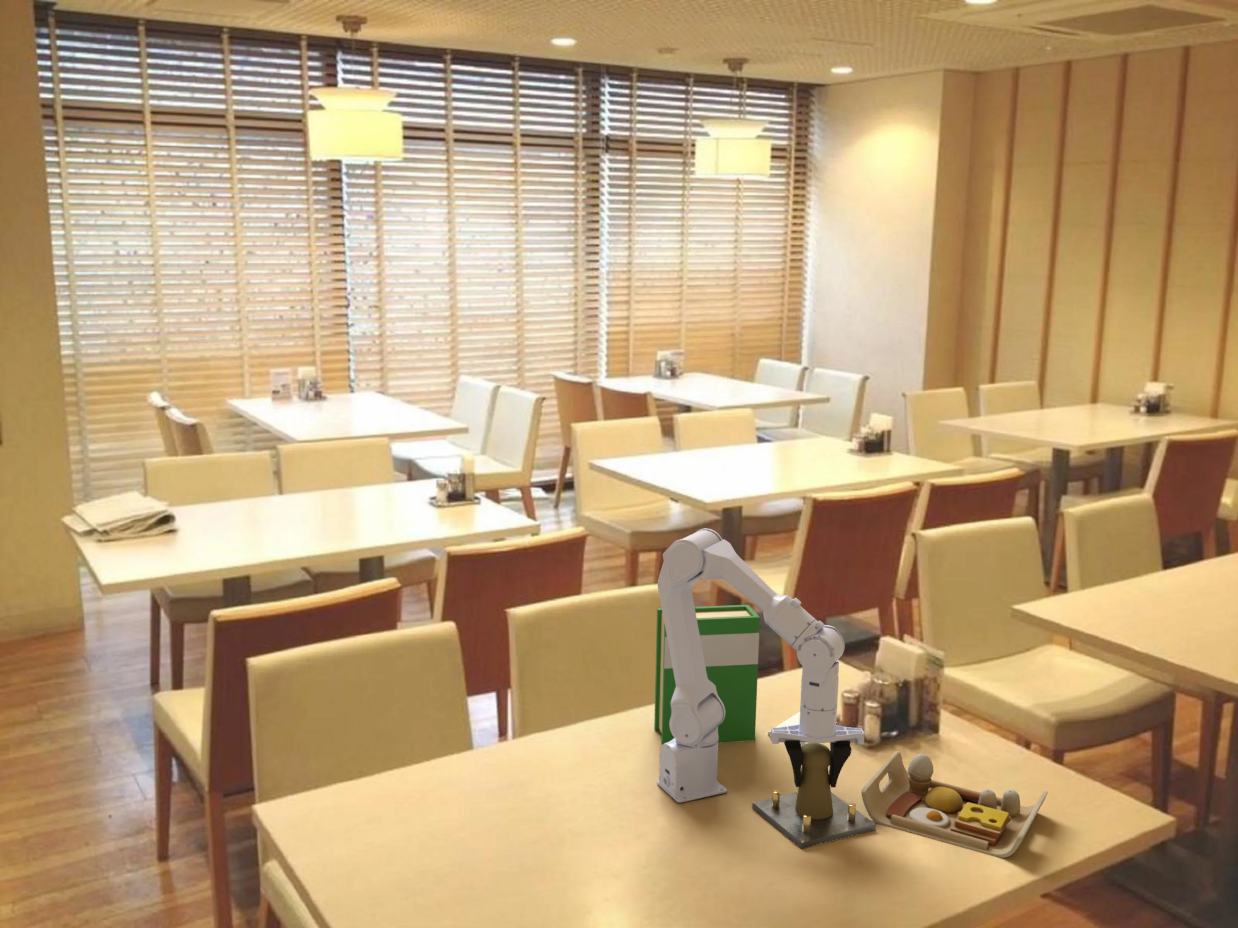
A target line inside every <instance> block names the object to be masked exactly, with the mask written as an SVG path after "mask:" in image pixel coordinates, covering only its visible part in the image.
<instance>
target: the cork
mask: <svg viewBox="0 0 1238 928" xmlns="http://www.w3.org/2000/svg"><path fill="white" fill-rule="evenodd" d="M801 749H802V752H803V756H802V764H801V787H797V789H798V790H797V792H798V794H797V801H796V807H795V810H796V812H797V813H798V814H799V815H800V816H802V817H803V815H805V814H808V815H810V816H811V819H825V818H828V817H830V816H831V815H832V814H833V805H832V797H831V792H832V790H831V789H832V788H831V785H830V780H829V768H830V763H831V760H832V755H831V752H830V748H829V747H828V746H827V745H825V744H824V743H808V744H805V745H803V746H801Z"/></svg>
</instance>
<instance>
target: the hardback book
mask: <svg viewBox="0 0 1238 928" xmlns="http://www.w3.org/2000/svg"><path fill="white" fill-rule="evenodd" d="M694 607H695V612H696V618H697V623H698V629H699V634H700V640H701V645H702V651H703V656H704V662H705V667H706V673H707V678H708V680H709V681H711V682H712V683H713V684H714V685H715V686H716V690H717V694H718V696H719V698H720V699H721V701H722V702H723V704H724V707H725V718H724V720H723V722H722V723H721V724H720V725H719V726H718V736H719V738H718V742H721V743H732V742H733V743H735V742H749V740H754V741H755V740H756V728H757V727H756V724H757V722H756V721H757V719H756V718H757V700H758V699H757V697H758V675H759V674H758V672H759V652H760V651H759V650H760V649H759V647H760V622H761V620H760V619H761V616H759V615H758V614H757V612H756V611H755V610H754V608H752V607H751V606H750V605H749V604H735V605H734V604H733V605H732V604H731V605H730V604H729V605H710V606H706V605H705V606H694ZM655 631H656V635H655V636H656V637H655V638H656V641H655V642H656V643H655V674H654V675H655V677H654V678H655V680H654V681H655V683H654V684H655V686H654V723H653V724H654V726H653V727H654V728H653V729H654V732H660V733H661V739H660V741H661V746H662V745H663V744H664V743H667V742H669V741H671V740H672V739H674V736H673V735H672V733H671V731H670V726H669V722H670V718H671V713H672V710H671V700H672V697H673V694H674V691H675V688H676V683H675V678H674V672H673V667H672V661H671V656H670V650H669V645H668V640H667V634H666V629H665V623H664V618H663V612H662V607H661V608H660V607H657V608H656V630H655ZM747 740H748V741H747Z"/></svg>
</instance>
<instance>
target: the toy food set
mask: <svg viewBox="0 0 1238 928" xmlns="http://www.w3.org/2000/svg"><path fill="white" fill-rule="evenodd" d="M933 774H934V764H933V762H932V759H931V758H930V757H929V755H927V754H926V753H918V754H915V755H914V757H913V758H912V759H911V760H910V762H909V765H908V767H907V769H906V767H905V765H904V763H903V758H902V753H901V752H900V751H898V750H896V751H894V752H893V753H892V754H891V756H890V757H889V758H887V760H886V761H885V763H883V764H882V766H880V768H879V769H878V770H877V771H876V772H875V773H874V774H873V776H872V777H871V778H870V779H869V781H868V782H867V783H866V784H865V785H864V786H863V787H862V789H861V797H862V798H861V799H862V803H863V805H864V807H865V810H866V812H867V814H868V816H869V818H870V820H871V821H872V822H873V821H874V823H875V824H879V825H883V826H887V827H890V828H893V829H897V830H901V831H905V832H908V833H911V832H912V833H911V834H914V833H915V834H916V835H918V834H919V836H922V837H926V838H930V839H933V840H937V841H941V842H944V843H947V844H951V845H954V846H956V847H957V846H958V847H961V848H965V849H969V850H972V851H975V852H980V853H983V854H986V855H990V856H994V857H997V858H1001V859H1002V858H1003V859H1004V858H1008V857H1011V856H1012V855H1014V853H1016V851H1017V850H1018V849H1019V847H1020V845H1021V844H1022V842H1023V840H1024V838H1025V836H1026V835H1027V833H1028V831H1029V829H1030V828H1031V825H1032V823H1033V821H1034V820H1035V818H1036V816H1037V814H1038V813H1039V811H1040V810H1041V807H1042V806H1043V804H1044V802H1045V800H1046V798H1047V795H1048V792H1049V791H1046V790H1043V791H1042V793H1041V794H1040V796H1039V798H1038V800H1037V801H1036V803H1034V805H1030V806H1023V805H1021V798H1020V795H1019V793H1018V792H1017V791H1016V790H1014V789H1007V790H1005V791H1004V792H1003V794H1002V797H999V796H997V795H996V793H995V792H994V790H991V789H988V788H987V789H986V788H985V789H983V790H982V791H981V792H979V791H978V790H972V789H968V788H964V787H961V786H957V785H954V784H950V783H946V782H942V781H938V780H934V779H932V776H933ZM886 775H887V776H888V781H887V782H886V783H885V784H884V786H883V787H882V789H880V783H881V781H882V780H883V779H884V777H885V776H886Z"/></svg>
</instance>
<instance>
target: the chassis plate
mask: <svg viewBox="0 0 1238 928" xmlns="http://www.w3.org/2000/svg"><path fill="white" fill-rule="evenodd" d="M771 793H772V796H771V798H766V799H762V800H757V801H754V802H752V809H753V810H754V811H755V812H756V811H757V812H756V813H757V814H758V815H760V816H761V817H762V818H763V819H765V820H766V821H767V822H769V823H770V824H771V825H772V826H773V827H774V828H776V829H777V830H778V831H780V833H782V834H783V835H786V836H785V837H786V838H788V839H789V840H790V841H791V840H792V841H791V842H793V843H794V845H796V846H798V848H800V849H801V850H802V849H806V847H807V848H811V847H814V846H813V845H815V846H818V845H817V844H819V845H821V844H820V843H823V844H825V842H827V843H829V841H831V842H833V841H832V840H835V841H837V840H836V839H838V840H841V839H840V838H842V839H845V838H844V837H846V838H849V837H848V836H850V837H852V836H851V835H854V836H857V835H856V834H858V835H862V834H865V832H866V833H870V832H873V831H876V827H877V823H876V822H873V820H872V819H869V818H868V817H867V816H865V815H864V814H862V813H861V812H859V811H858V810H857V805H856V804H855V803H847V802H846V801H844V800H843V799H841V797H839V796H838V795H836V794H835V793H833V792H832V791H831V797H832V805H833V814H832V815H831V816H830V817H828V818H825V819H811V816H810V815H808V814H805V815H803V817H802V816H800V815H799V814H798V813H797V812H796V810H795V807H796V801H797V794H798V791H796V792H792V793H788V794H783V795H781V791H779V790H772V792H771ZM869 831H870V832H869ZM861 833H862V834H861ZM810 846H811V847H810Z"/></svg>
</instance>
